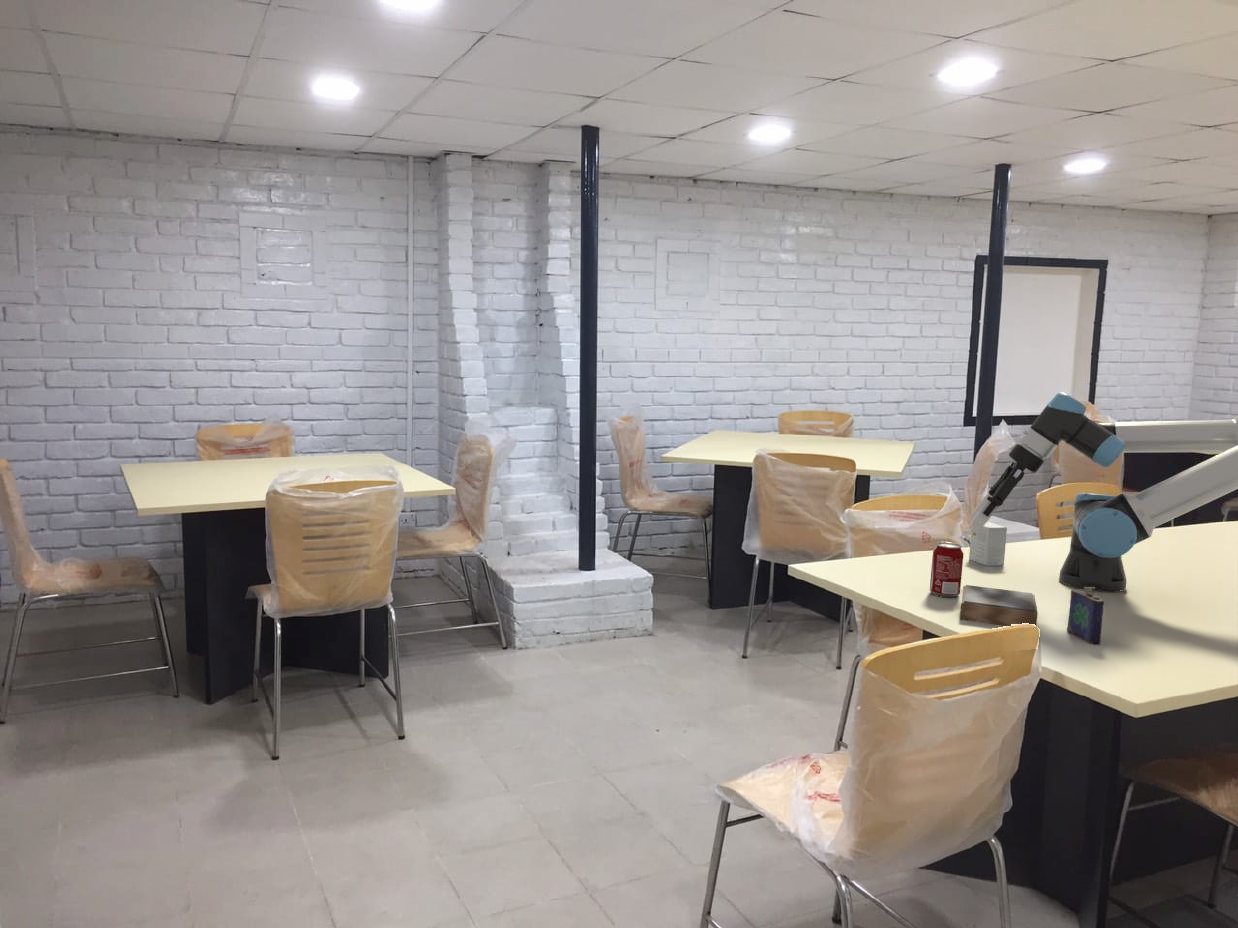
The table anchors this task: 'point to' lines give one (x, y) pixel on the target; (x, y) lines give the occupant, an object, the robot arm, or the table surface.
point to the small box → (988, 544)
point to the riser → (998, 606)
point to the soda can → (946, 569)
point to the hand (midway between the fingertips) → (976, 521)
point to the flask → (1085, 615)
